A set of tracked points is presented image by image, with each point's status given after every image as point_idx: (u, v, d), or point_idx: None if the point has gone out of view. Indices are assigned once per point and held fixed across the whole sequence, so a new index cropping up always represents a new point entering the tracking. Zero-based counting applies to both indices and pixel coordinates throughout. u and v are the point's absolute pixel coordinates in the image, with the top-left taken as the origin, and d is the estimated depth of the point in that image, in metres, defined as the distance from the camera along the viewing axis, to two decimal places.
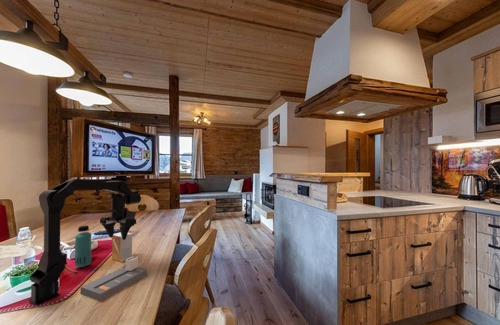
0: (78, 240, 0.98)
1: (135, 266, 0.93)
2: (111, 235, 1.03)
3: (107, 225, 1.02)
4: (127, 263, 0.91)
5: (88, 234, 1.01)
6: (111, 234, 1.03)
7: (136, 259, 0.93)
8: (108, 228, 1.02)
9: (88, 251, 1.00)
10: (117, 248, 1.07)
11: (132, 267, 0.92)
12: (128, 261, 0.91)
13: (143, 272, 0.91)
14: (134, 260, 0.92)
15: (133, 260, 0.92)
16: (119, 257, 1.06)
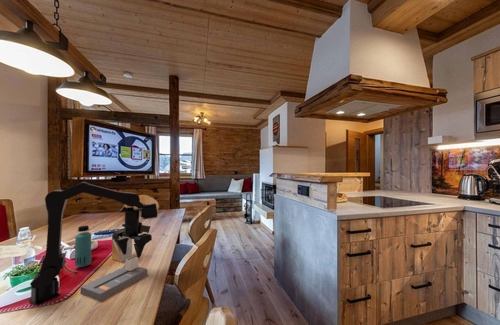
0: (78, 240, 0.98)
1: (135, 266, 0.93)
2: (124, 252, 0.95)
3: (120, 241, 0.94)
4: (127, 263, 0.91)
5: (88, 234, 1.01)
6: (124, 251, 0.95)
7: (136, 259, 0.93)
8: (121, 244, 0.94)
9: (88, 251, 1.00)
10: (117, 248, 1.07)
11: (132, 267, 0.92)
12: (128, 261, 0.91)
13: (143, 272, 0.91)
14: (134, 260, 0.92)
15: (133, 260, 0.92)
16: (119, 257, 1.06)
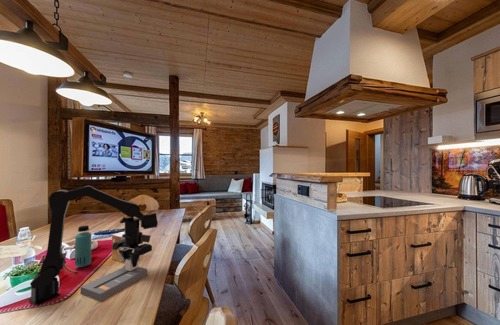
0: (78, 240, 0.98)
1: None
2: None
3: (124, 252, 0.92)
4: (127, 263, 0.91)
5: (88, 234, 1.01)
6: None
7: None
8: (125, 256, 0.93)
9: (88, 251, 1.00)
10: None
11: (132, 267, 0.92)
12: (128, 261, 0.91)
13: (143, 272, 0.91)
14: None
15: None
16: (119, 257, 1.06)
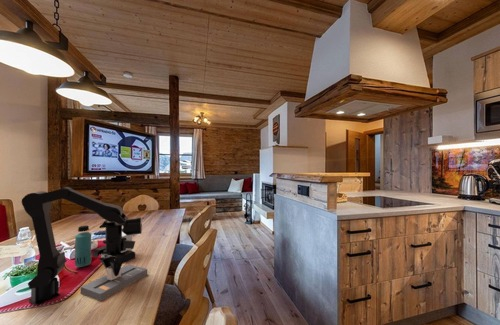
0: (78, 240, 0.98)
1: (117, 275, 0.85)
2: None
3: (106, 260, 0.85)
4: (108, 272, 0.84)
5: (88, 234, 1.01)
6: None
7: None
8: (106, 264, 0.85)
9: (88, 251, 1.00)
10: None
11: (114, 276, 0.84)
12: (109, 269, 0.84)
13: (143, 272, 0.91)
14: None
15: None
16: None
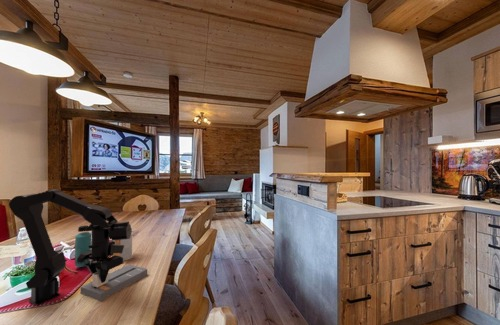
0: (78, 240, 0.98)
1: None
2: None
3: (92, 266, 0.80)
4: (94, 278, 0.79)
5: (88, 234, 1.01)
6: None
7: None
8: (93, 269, 0.80)
9: None
10: None
11: (100, 283, 0.79)
12: (95, 276, 0.79)
13: (143, 272, 0.91)
14: None
15: None
16: None
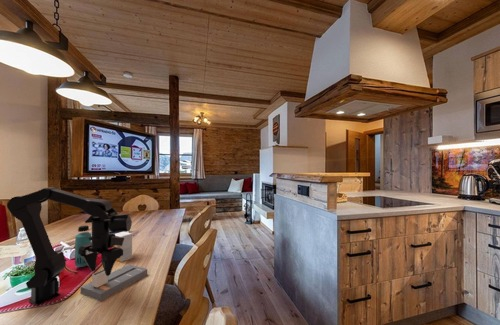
0: (78, 240, 0.98)
1: (104, 281, 0.81)
2: (93, 268, 0.82)
3: (87, 256, 0.81)
4: (94, 278, 0.79)
5: (88, 234, 1.01)
6: (93, 267, 0.82)
7: None
8: (88, 260, 0.81)
9: None
10: None
11: (100, 283, 0.79)
12: (95, 276, 0.79)
13: (143, 272, 0.91)
14: (102, 274, 0.80)
15: (101, 275, 0.80)
16: None
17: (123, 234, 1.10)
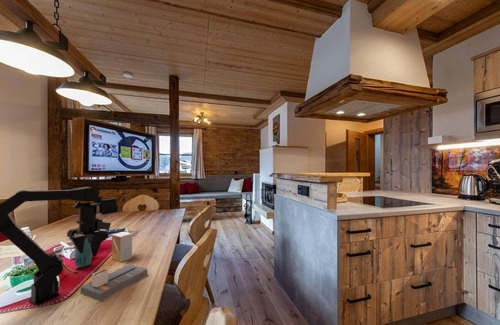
0: None
1: (104, 281, 0.81)
2: (80, 250, 0.88)
3: (75, 239, 0.87)
4: (94, 278, 0.79)
5: None
6: (80, 249, 0.88)
7: (105, 273, 0.81)
8: (76, 242, 0.87)
9: (88, 251, 1.00)
10: (117, 248, 1.07)
11: (100, 283, 0.79)
12: (95, 276, 0.79)
13: (143, 272, 0.91)
14: (102, 274, 0.80)
15: (101, 275, 0.80)
16: (119, 257, 1.06)
17: (123, 234, 1.10)
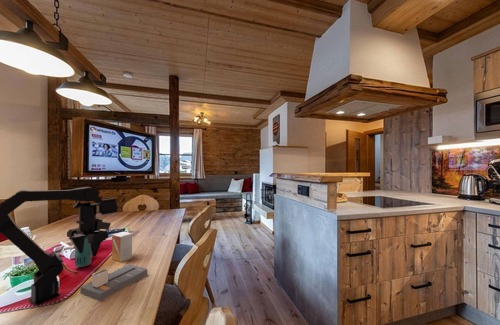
0: None
1: (104, 281, 0.81)
2: (80, 250, 0.88)
3: (75, 239, 0.87)
4: (94, 278, 0.79)
5: None
6: (80, 249, 0.88)
7: (105, 273, 0.81)
8: (76, 242, 0.87)
9: (88, 251, 1.00)
10: (117, 248, 1.07)
11: (100, 283, 0.79)
12: (95, 276, 0.79)
13: (143, 272, 0.91)
14: (102, 274, 0.80)
15: (101, 275, 0.80)
16: (119, 257, 1.06)
17: (123, 234, 1.10)
